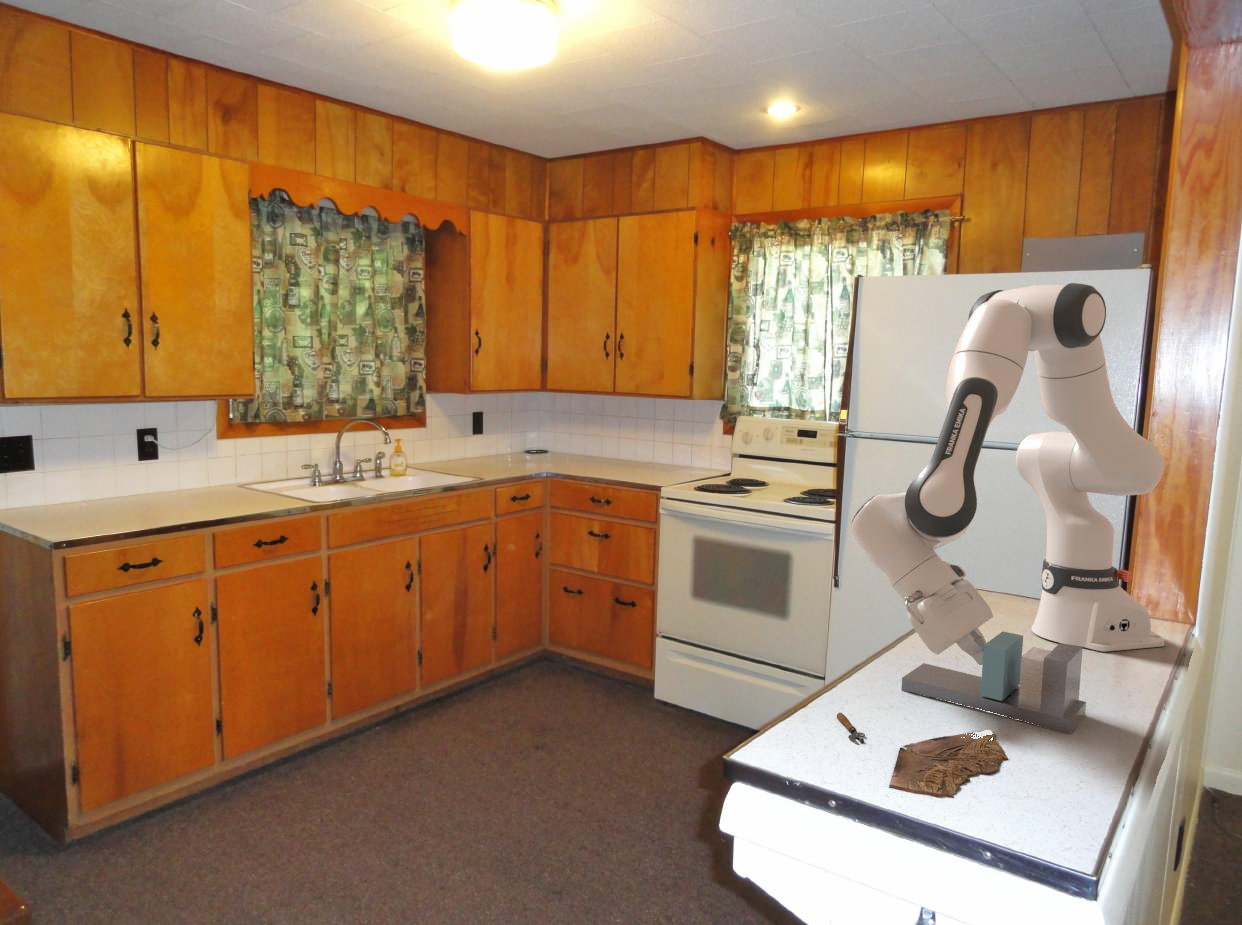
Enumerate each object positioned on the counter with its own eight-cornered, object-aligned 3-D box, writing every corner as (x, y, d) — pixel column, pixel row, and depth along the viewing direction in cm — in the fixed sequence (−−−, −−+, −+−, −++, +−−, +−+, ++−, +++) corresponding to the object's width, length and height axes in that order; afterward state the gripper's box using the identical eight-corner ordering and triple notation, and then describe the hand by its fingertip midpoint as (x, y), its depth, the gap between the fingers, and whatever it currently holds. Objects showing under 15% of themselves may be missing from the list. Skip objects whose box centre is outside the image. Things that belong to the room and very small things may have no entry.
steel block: (1018, 703, 121) (1021, 656, 121) (1029, 691, 126) (1033, 646, 125) (1040, 709, 119) (1044, 661, 119) (1051, 697, 124) (1054, 651, 123)
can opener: (835, 719, 120) (836, 711, 120) (852, 720, 120) (852, 712, 120) (852, 747, 111) (853, 739, 111) (870, 747, 111) (870, 739, 111)
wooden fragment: (934, 810, 95) (935, 801, 95) (853, 774, 104) (854, 766, 104) (1038, 750, 112) (1039, 742, 111) (961, 723, 120) (961, 716, 120)
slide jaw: (980, 695, 123) (983, 645, 122) (999, 679, 130) (1002, 631, 129) (1001, 701, 121) (1005, 649, 120) (1019, 684, 128) (1023, 635, 127)
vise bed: (901, 689, 131) (904, 628, 130) (923, 674, 138) (926, 616, 137) (1070, 734, 116) (1075, 664, 115) (1085, 715, 122) (1090, 649, 121)
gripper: (916, 587, 122) (981, 667, 117) (964, 564, 138) (1023, 634, 133) (885, 611, 126) (947, 690, 121) (935, 586, 141) (992, 655, 136)
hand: (987, 660), depth 127 cm, fingers closed, pressing on slide jaw
